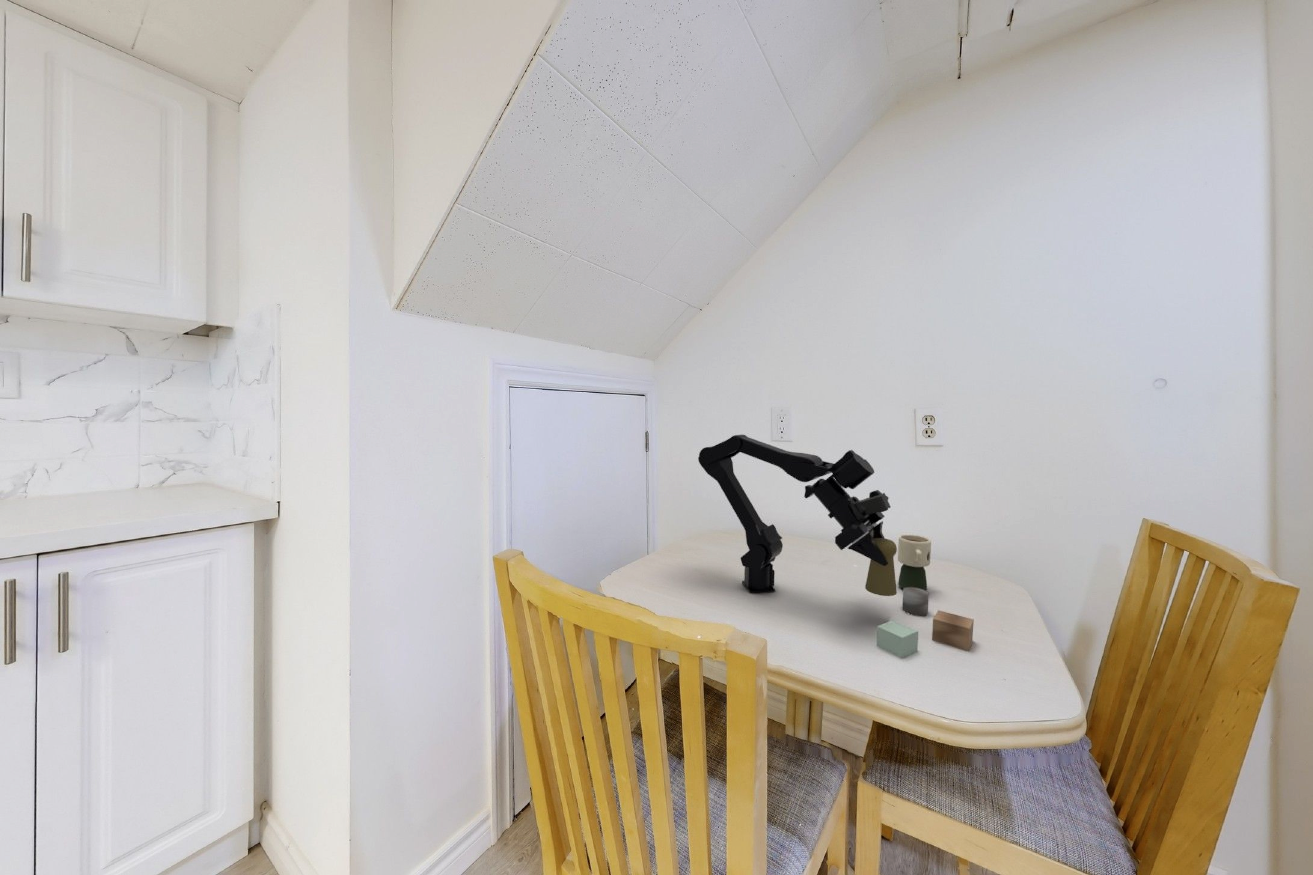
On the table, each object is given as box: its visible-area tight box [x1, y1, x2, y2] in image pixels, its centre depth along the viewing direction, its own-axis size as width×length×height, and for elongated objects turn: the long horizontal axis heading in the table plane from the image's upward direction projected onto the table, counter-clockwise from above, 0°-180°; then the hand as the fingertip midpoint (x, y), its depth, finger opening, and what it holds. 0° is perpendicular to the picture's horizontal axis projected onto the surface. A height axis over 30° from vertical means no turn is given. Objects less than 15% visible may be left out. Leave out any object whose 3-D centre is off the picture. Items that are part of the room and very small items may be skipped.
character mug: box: [897, 533, 932, 591], centre depth 115 cm, size 11×7×13 cm, turn 163°
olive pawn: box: [864, 537, 898, 597], centre depth 97 cm, size 6×6×11 cm
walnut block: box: [931, 609, 975, 652], centre depth 90 cm, size 6×5×4 cm
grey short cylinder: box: [901, 587, 930, 617], centre depth 103 cm, size 5×5×4 cm
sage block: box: [876, 619, 919, 659], centre depth 87 cm, size 5×5×4 cm
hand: (889, 561), depth 97 cm, fingers closed on olive pawn, 5 cm apart
